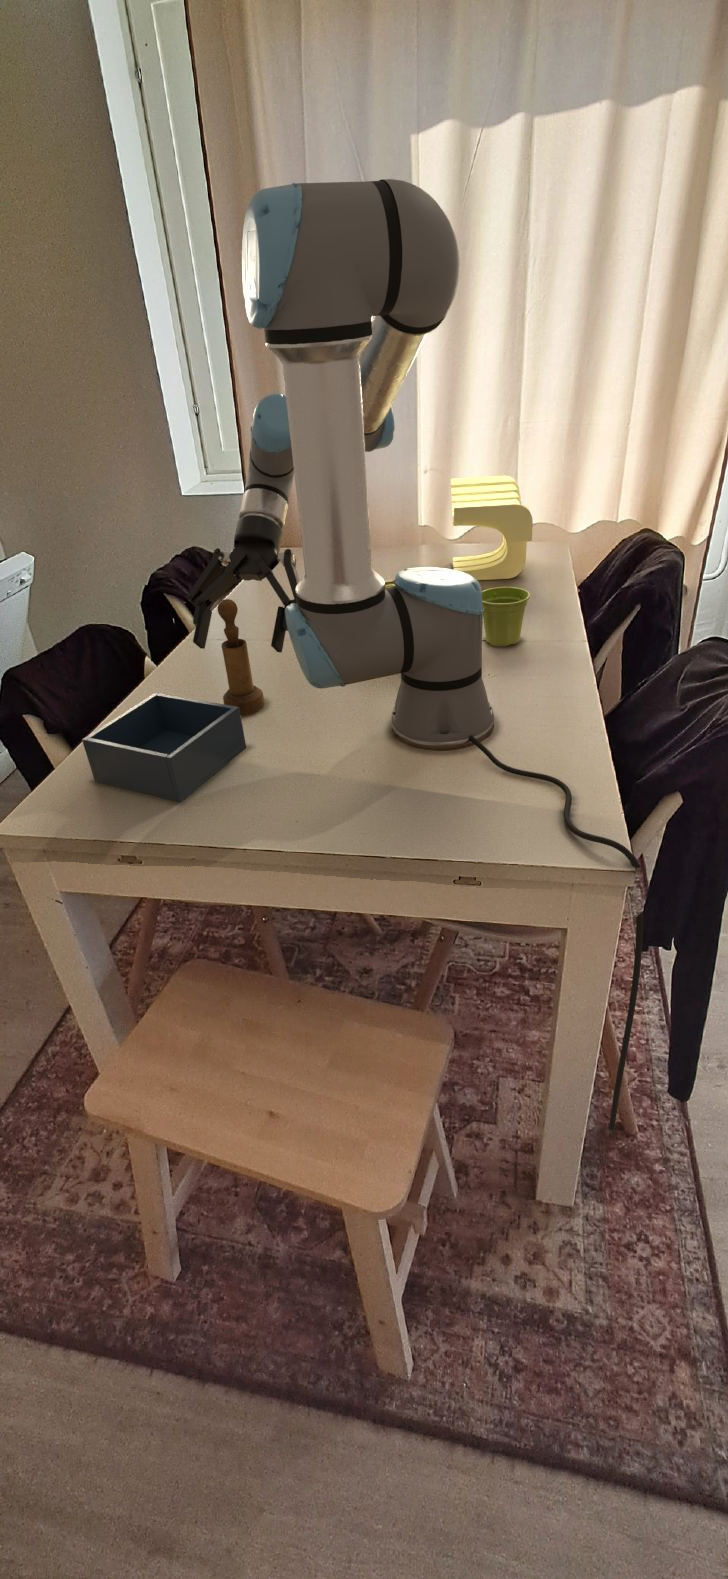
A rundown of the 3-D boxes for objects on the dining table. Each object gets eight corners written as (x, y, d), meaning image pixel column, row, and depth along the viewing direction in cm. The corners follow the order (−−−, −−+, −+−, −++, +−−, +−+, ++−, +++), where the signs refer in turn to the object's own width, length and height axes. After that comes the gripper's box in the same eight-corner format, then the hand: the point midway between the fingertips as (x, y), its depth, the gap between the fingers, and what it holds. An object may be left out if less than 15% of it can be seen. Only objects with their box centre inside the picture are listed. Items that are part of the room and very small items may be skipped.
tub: (246, 747, 114) (239, 706, 110) (180, 802, 102) (170, 758, 99) (165, 731, 120) (155, 692, 117) (94, 781, 109) (81, 739, 105)
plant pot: (470, 648, 139) (470, 602, 135) (484, 629, 146) (484, 585, 142) (522, 652, 136) (523, 605, 131) (533, 633, 143) (535, 587, 138)
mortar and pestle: (257, 716, 122) (238, 607, 113) (219, 715, 124) (197, 608, 114) (269, 698, 128) (252, 593, 118) (233, 697, 129) (213, 593, 120)
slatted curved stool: (529, 589, 164) (533, 503, 155) (455, 593, 166) (453, 508, 156) (516, 550, 189) (519, 474, 180) (452, 554, 191) (450, 478, 181)
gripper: (339, 537, 125) (318, 659, 121) (203, 537, 132) (179, 652, 128) (325, 512, 118) (302, 640, 114) (182, 513, 125) (155, 634, 121)
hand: (236, 647), depth 121 cm, fingers open, 13 cm apart
